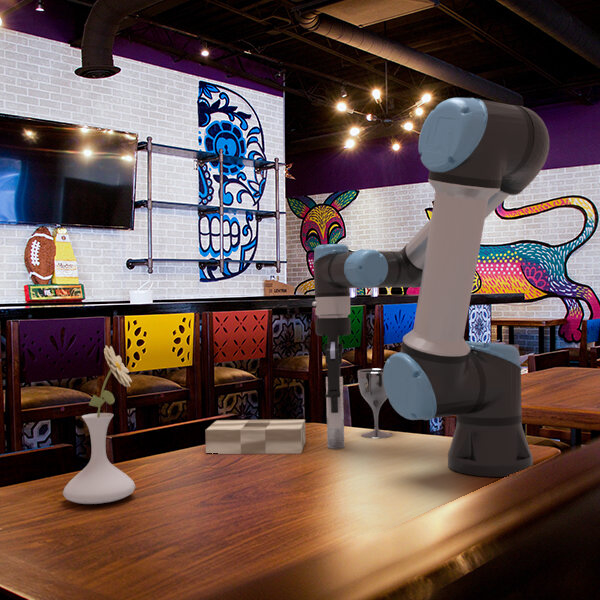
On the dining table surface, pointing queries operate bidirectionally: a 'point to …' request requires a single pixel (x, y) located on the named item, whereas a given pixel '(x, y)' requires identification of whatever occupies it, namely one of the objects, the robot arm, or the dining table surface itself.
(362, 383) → the wine glass
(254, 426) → the hole block
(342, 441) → the peg
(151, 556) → the dining table surface
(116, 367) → the flower in vase
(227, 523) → the dining table surface
